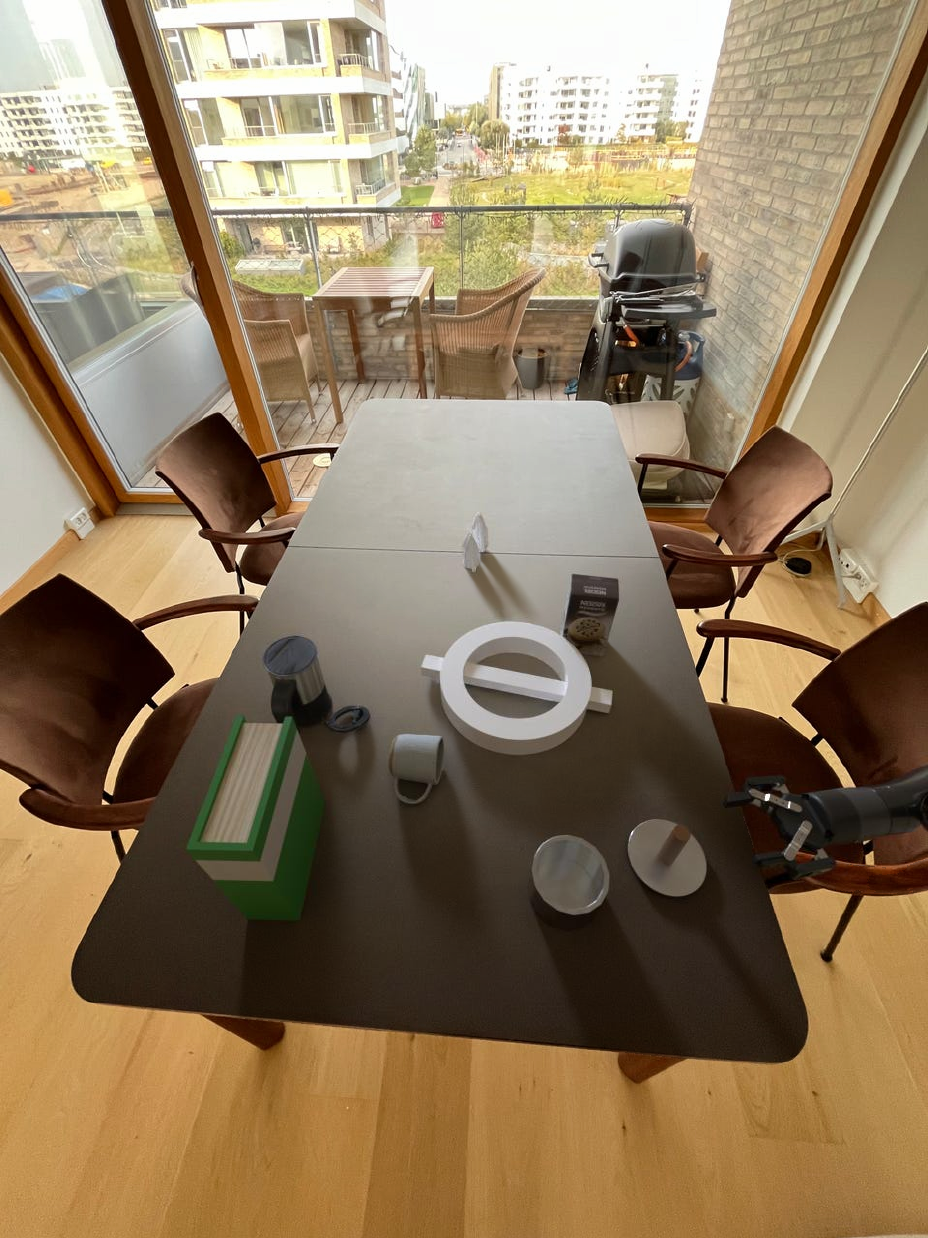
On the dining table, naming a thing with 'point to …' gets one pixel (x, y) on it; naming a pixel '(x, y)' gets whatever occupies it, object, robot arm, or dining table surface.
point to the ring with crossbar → (516, 687)
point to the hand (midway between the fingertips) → (738, 831)
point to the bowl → (568, 882)
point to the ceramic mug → (416, 761)
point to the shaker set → (475, 543)
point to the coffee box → (590, 612)
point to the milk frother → (303, 687)
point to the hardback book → (261, 821)
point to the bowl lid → (667, 858)
